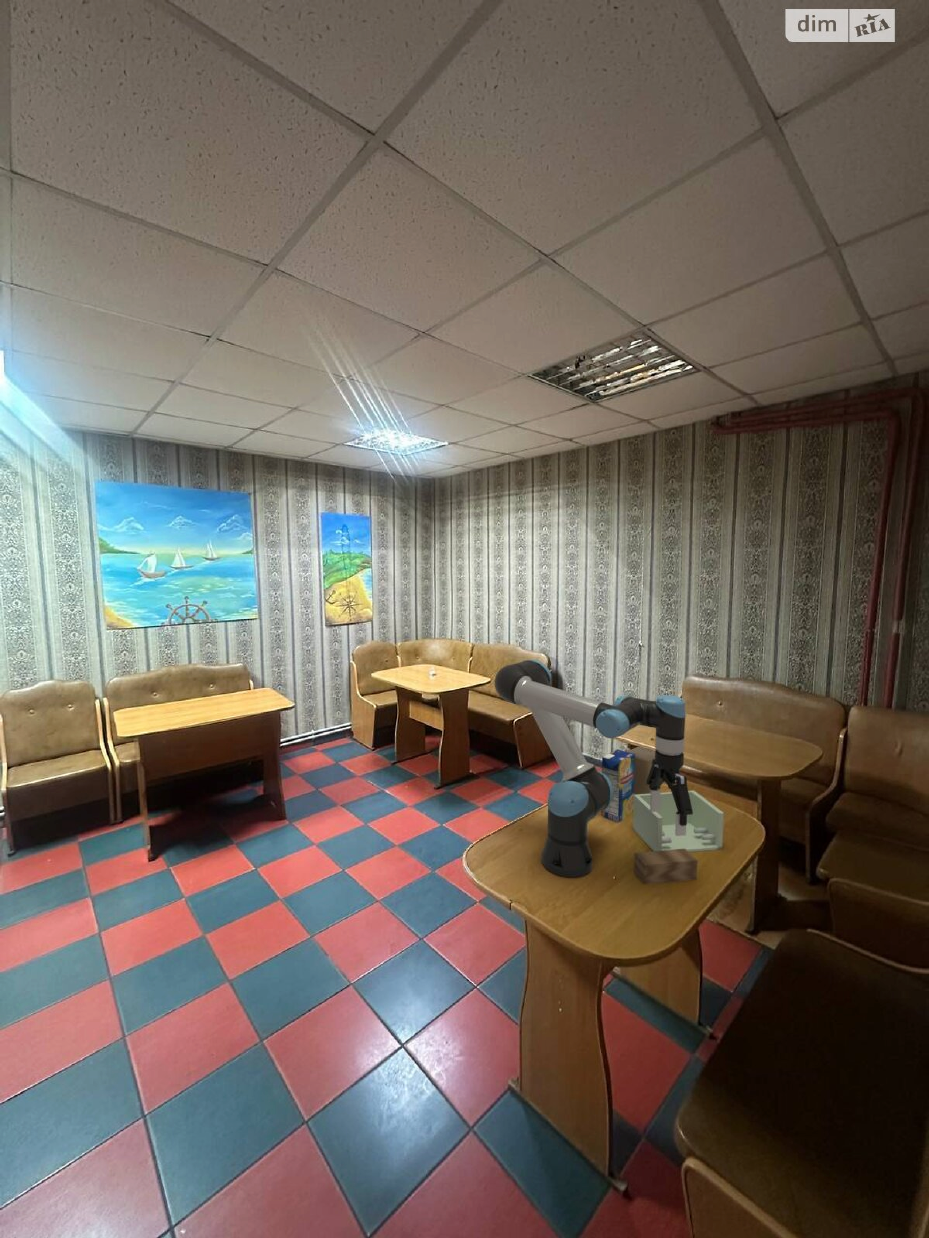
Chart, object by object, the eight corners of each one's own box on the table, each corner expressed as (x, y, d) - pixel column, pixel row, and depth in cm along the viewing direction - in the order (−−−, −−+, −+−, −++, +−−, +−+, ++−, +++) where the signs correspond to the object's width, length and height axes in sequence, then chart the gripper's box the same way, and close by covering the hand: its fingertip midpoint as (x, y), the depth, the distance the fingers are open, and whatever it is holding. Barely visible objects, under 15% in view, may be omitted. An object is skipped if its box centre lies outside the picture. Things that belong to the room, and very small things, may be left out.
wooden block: (637, 794, 195) (638, 745, 193) (660, 803, 187) (662, 752, 185) (622, 802, 189) (624, 751, 187) (646, 811, 181) (648, 759, 179)
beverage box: (600, 816, 178) (602, 757, 176) (616, 805, 186) (617, 749, 183) (618, 823, 173) (619, 762, 171) (633, 812, 181) (635, 754, 179)
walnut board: (644, 885, 140) (644, 865, 139) (633, 872, 145) (634, 853, 145) (696, 879, 142) (697, 860, 141) (684, 867, 148) (685, 848, 147)
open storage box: (656, 854, 154) (658, 817, 153) (632, 828, 170) (633, 794, 168) (722, 849, 157) (723, 812, 156) (692, 823, 173) (693, 790, 171)
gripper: (709, 767, 128) (705, 845, 130) (658, 735, 153) (656, 801, 155) (682, 769, 127) (679, 847, 129) (635, 736, 152) (634, 803, 154)
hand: (667, 822), depth 142 cm, fingers open, 13 cm apart
